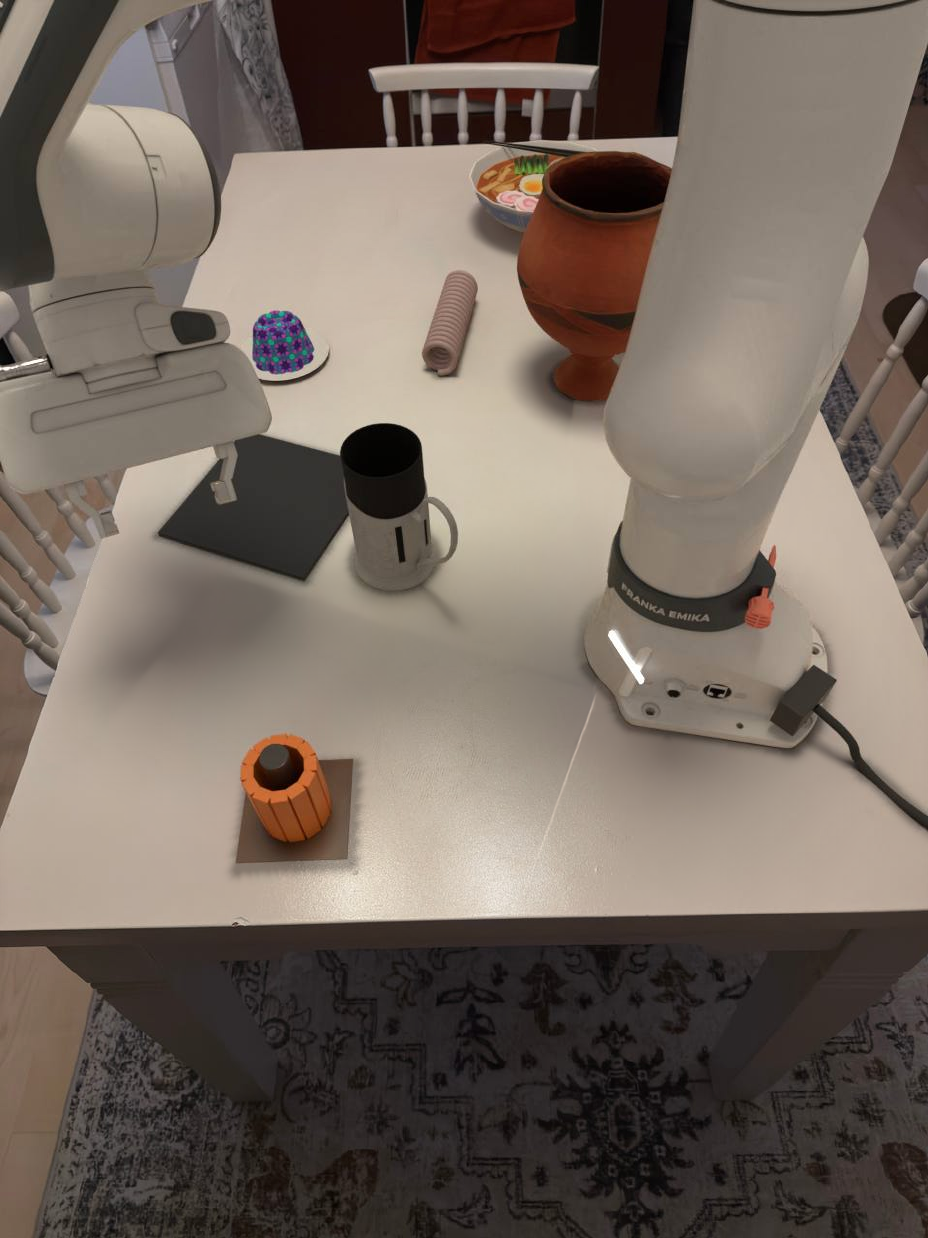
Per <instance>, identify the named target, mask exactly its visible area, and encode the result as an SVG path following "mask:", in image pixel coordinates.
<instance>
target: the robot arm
mask: <svg viewBox="0 0 928 1238" xmlns="http://www.w3.org/2000/svg"><path fill="white" fill-rule="evenodd" d="M213 1H214V0H0V290H2V291H7V290H11V289H16V288H22V287H28V293H29V305H30V306H29V307H30V310H31V313H32V316H33V319H34V321H35V324H36V327H37V329H38V333H39V335H40V338H41V341H42V343H43V346H44V348H45V351H46V355H41V356H37V357H33V358H28V359H24V360H21V361H18V362H14V363H11V364H5V365H1V364H0V464H1V467H2V471H3V474H4V477H5V480H6V482H7V484H8V486H9V488H10V489H12V490H14V491H15V492H17V493H19V494H21V495H25V496H26V495H27V496H28V495H30V494H35V493H38V492H42V491H47V490H49V489H54V488H57V487H61V486H64V489H65V491H66V494H67V497H68V499H69V501H70V502H71V503H72V504H73V505H75V506H76V507H77V508H79V509H80V510H81V511H82V512H83V513H84V514H86V516H88V517H89V518H92V520H93V523H94V525H95V528H96V530H97V533H98V536H99V539H100V540H102V539H106V538H109V537H112V536H113V537H114V536H116V535H119V534H120V531H119V527H118V525H117V524H116V523H115V521H116V520H115V517H114V514H113V511H112V510H107V511H105V512H100V511H99V510H98V509H96V508H95V507H94V506H93V505H91V504H90V503H89V502H88V501H87V500H86V499H84V498H83V497H84V496H87V495H88V493H89V492H88V491H87V488H86V484H85V482H84V480H88V479H92V478H95V477H100V476H104V475H107V474H111V473H116V472H120V471H122V470H123V471H124V470H127V469H130V468H134V467H139V466H142V465H146V464H150V463H153V462H157V461H161V460H165V459H169V458H173V457H177V456H180V455H185V454H189V453H192V452H196V451H200V450H204V449H207V448H211V447H212V448H213V451H214V454H215V457H216V458H217V459H218V460H219V459H224V460H223V465H222V470H221V475H220V481H216V482H213V483H210V484H211V487H212V490H213V492H215V496H214V497H215V500H216V502H217V504H219V505H220V504H224V503H228V502H231V501H235V500H237V498H236V494H235V491H234V488H233V484H232V481H231V479H232V478H233V473H234V469H235V465H236V460H237V456H238V455H237V451H236V448H235V445H234V441H235V440H239V439H243V438H246V437H250V436H254V435H258V434H260V435H263V434H266V433H267V432H268V431H269V429H270V427H271V425H272V420H273V415H272V411H271V408H270V405H269V402H268V399H267V396H266V394H265V391H264V388H263V386H262V383H261V381H260V379H259V378H258V376H257V374H256V372H255V370H254V368H253V366H252V364H251V362H250V360H249V359H248V357H247V356H246V354H245V353H244V352H243V351H242V350H241V349H240V347H238V346H236V345H234V344H233V343H229V342H226V341H227V340H228V339H229V338H230V336H231V327H230V323H229V319H228V317H227V316H226V315H225V314H224V313H223V312H222V311H218V310H213V309H203V308H196V307H195V308H194V307H185V306H178V305H170V304H163V303H160V302H159V298H158V295H157V292H156V290H155V287H154V285H153V283H152V282H151V280H150V278H149V277H150V276H149V270H154V269H163V268H171V267H177V266H180V265H182V264H186V263H189V262H191V261H192V260H195V259H199V258H201V257H202V256H204V255H205V253H206V252H207V251H208V250H209V248H210V247H211V245H212V243H213V241H214V240H215V238H216V236H217V233H218V231H219V227H220V223H221V217H222V195H221V188H220V187H221V186H220V183H219V178H218V175H217V171H216V167H215V165H214V162H213V160H212V158H211V157H212V156H211V155H210V153H209V150H208V149H207V147H206V145H205V144H204V142H203V140H202V139H201V138H200V136H199V135H198V134H197V132H196V131H195V130H194V129H193V128H192V127H191V125H190V124H188V122H186V121H185V120H184V119H183V118H182V117H181V116H179V115H177V114H175V113H172V112H166V111H163V110H160V109H155V108H151V107H143V106H142V107H141V106H131V105H117V104H100V103H96V104H94V103H90V100H91V98H92V96H93V95H94V93H95V92H96V89H97V87H98V85H99V84H100V82H101V80H102V78H103V76H104V75H105V73H106V71H107V69H108V67H109V65H110V64H111V61H112V60H113V58H114V57H115V55H116V53H117V52H118V50H119V49H120V48H121V47H122V46H123V45H124V44H125V43H126V41H127V40H128V39H130V38H131V37H132V36H133V35H135V33H137V32H138V31H139V30H141V29H143V28H144V27H145V26H147V25H148V24H150V23H152V22H154V21H156V20H158V19H160V18H162V17H164V16H167V15H170V14H172V13H174V12H177V11H179V10H183V9H186V8H190V7H192V6H197V5H201V4H204V3H208V2H213ZM691 12H692V13H691V21H690V29H689V37H688V47H687V55H686V63H685V71H684V80H683V81H684V82H683V89H682V98H681V108H680V117H679V125H678V133H677V139H676V147H675V150H674V151H675V152H674V157H673V161H672V166H671V168H672V171H671V176H670V181H669V185H668V189H667V193H666V196H665V200H664V204H663V208H662V212H661V215H660V219H659V222H658V226H657V229H656V233H655V237H654V240H653V244H652V248H651V251H650V255H649V259H648V263H647V267H646V271H645V275H644V279H643V283H642V287H641V292H640V296H639V300H638V304H637V309H636V313H635V317H634V321H633V325H632V329H631V332H630V336H629V340H628V344H627V347H626V351H625V352H624V354H623V357H622V360H621V363H620V365H619V370H618V373H617V376H616V378H615V381H614V383H613V386H612V389H611V391H610V394H609V397H608V399H606V402H605V405H604V410H603V415H602V416H603V417H602V423H603V425H602V426H603V432H604V437H605V440H606V444H607V447H608V449H609V451H610V453H611V455H612V456H613V458H614V460H615V461H616V463H617V464H618V466H619V467H620V468H621V470H622V471H623V472H624V473H625V474H626V475H627V476H628V477H629V478H630V479H629V485H628V491H627V495H626V501H625V507H624V512H623V518H622V520H621V521H620V523H619V526H618V527H617V531H616V533H615V534H614V536H613V538H612V542H611V546H610V551H609V556H608V563H607V568H606V573H607V580H606V588H605V590H604V593H603V595H602V598H601V599H600V601H599V603H598V605H597V606H596V608H595V609H594V610H593V611H592V613H591V614H590V616H589V618H588V620H587V622H586V625H585V628H584V634H583V645H584V652H585V656H586V659H587V661H588V664H589V665H590V668H591V669H592V670H593V672H594V673H595V675H596V676H597V678H598V679H599V680H600V681H601V682H602V683H603V685H605V686H606V687H607V688H608V690H609V691H610V692H611V693H612V695H613V697H614V698H615V701H616V703H617V706H618V709H619V711H620V714H621V716H622V718H623V719H624V720H625V721H626V722H627V723H628V724H630V725H632V726H636V727H642V728H649V729H656V730H662V731H669V732H675V733H681V734H689V735H695V736H700V737H708V738H715V739H721V740H727V741H728V740H729V741H736V742H741V743H748V744H753V745H760V746H766V747H773V748H774V747H775V748H782V749H792V748H794V747H796V746H797V745H799V744H800V743H801V742H802V741H804V740H805V738H807V736H808V735H809V734H810V732H811V731H812V729H813V728H814V726H815V724H816V722H817V720H818V718H820V719H821V720H822V721H823V722H825V723H826V724H827V725H828V726H829V727H830V728H831V729H832V730H833V731H835V732H836V733H837V734H838V735H839V736H840V738H841V739H842V740H843V741H844V742H845V743H846V745H847V747H848V751H849V755H850V758H851V760H852V762H853V763H854V764H855V766H856V767H857V768H858V769H859V770H860V771H861V773H862V774H863V775H864V776H865V777H866V779H868V781H870V782H871V783H872V784H873V785H875V787H877V788H878V790H880V791H881V792H882V793H883V794H884V795H885V796H887V798H888V799H889V800H891V801H892V802H893V803H894V804H895V805H896V806H898V807H899V808H900V809H901V810H903V811H904V812H906V813H907V814H908V815H909V816H911V817H912V818H913V819H915V820H916V821H918V822H919V823H921V824H922V825H924V826H925V827H926V828H928V815H927V814H926V813H924V812H923V811H921V810H920V809H919V808H917V807H916V806H914V805H913V804H912V803H910V802H909V801H908V800H906V799H905V798H904V797H902V795H900V794H898V792H896V791H895V790H894V789H893V788H892V787H890V786H889V785H888V784H887V783H886V782H885V781H884V780H883V779H882V778H881V777H880V776H879V775H878V774H877V773H876V772H875V771H874V770H873V768H871V767H870V766H869V764H868V763H867V762H866V760H865V759H864V758H863V756H862V754H861V750H860V746H859V743H858V742H857V740H856V739H855V737H854V736H853V735H852V733H851V731H849V730H848V728H846V727H845V726H844V725H843V723H841V722H840V721H839V720H838V719H837V718H836V717H834V715H832V714H831V712H829V711H827V710H826V709H825V708H824V707H823V703H824V702H825V701H826V699H827V697H828V696H829V694H830V693H831V691H832V689H833V688H834V687H835V684H836V683H837V679H836V678H835V677H833V676H832V675H830V674H829V673H828V671H829V670H828V656H827V652H826V648H825V645H824V642H823V640H822V638H821V635H820V634H819V632H818V630H816V628H815V627H814V626H813V625H812V624H813V623H812V618H811V614H810V611H809V610H808V608H807V606H806V605H805V603H804V602H803V601H802V600H801V599H800V598H798V597H797V596H796V595H794V594H792V593H791V592H790V591H789V590H787V589H786V588H785V587H784V586H783V585H781V584H780V583H779V582H778V581H776V578H777V571H776V569H775V565H776V560H777V546H776V545H775V544H773V545H772V548H771V552H770V553H769V556H768V559H767V557H766V556H765V555H764V554H763V552H762V551H761V547H762V545H763V543H764V539H765V537H766V534H767V532H768V529H769V527H770V524H771V522H772V519H773V516H774V514H775V511H776V509H777V506H778V505H779V502H780V499H781V497H782V494H783V492H784V490H785V488H786V485H787V484H788V482H789V479H790V477H791V474H792V472H793V470H794V468H795V466H796V463H797V461H798V459H799V457H800V454H801V452H802V450H803V448H804V446H805V444H806V441H807V439H808V436H809V435H810V432H811V430H812V427H813V425H814V423H815V421H816V418H817V416H818V414H819V411H820V409H821V407H822V405H823V402H824V400H825V398H826V396H827V394H828V391H829V389H830V387H831V384H832V382H833V379H834V377H835V375H836V373H837V370H838V369H839V366H840V364H841V361H842V359H843V356H844V354H845V351H846V350H847V348H848V345H849V343H850V340H851V338H852V335H853V333H854V330H855V329H856V327H857V323H858V321H859V318H860V315H861V311H862V307H863V303H864V300H865V296H866V295H865V294H866V291H867V284H868V279H869V278H868V275H869V269H870V266H869V265H870V259H869V251H868V247H867V244H866V240H865V238H864V235H865V231H866V230H867V226H868V224H869V223H870V219H871V217H872V216H871V215H872V214H873V211H874V208H875V206H876V204H877V201H878V198H879V196H880V194H881V191H882V189H883V187H884V184H885V182H886V180H887V178H888V175H889V172H890V169H891V166H892V164H893V161H894V157H895V154H896V152H897V151H896V150H897V147H898V144H899V141H900V137H901V134H902V131H903V127H904V124H905V120H906V117H907V114H908V110H909V107H910V105H911V100H912V97H913V94H914V90H915V87H916V84H917V80H918V77H919V73H920V71H921V67H922V63H923V59H924V57H925V54H926V50H927V47H928V0H693V4H692V11H691ZM647 712H650V713H652V714H653V715H651V714H648V713H647Z"/></svg>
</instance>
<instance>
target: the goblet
mask: <svg viewBox="0 0 928 1238" xmlns="http://www.w3.org/2000/svg"><path fill="white" fill-rule="evenodd" d="M671 171H672V167H671V166H669V165H666V164H664V163H661V162H659V161H657V160H655V159H653V158H651V157H649V156H646V155H644V154H642V153H639V152H636V151H618V150H603V151H602V150H601V151H600V150H599V151H593V152H583V153H579V154H576V155H572V156H569V157H565V158H563V159H561V160H559V161H557V162H555V163H553V164H552V165H551V166H549V167H548V168H547V169H546V171H545V173H544V176H543V178H542V187H543V189H542V192H541V194H540V197H539V200H538V203H537V205H536V207H535V209H534V212H533V214H532V216H531V218H530V221H529V223H528V225H527V228H526V230H525V233H523V236H522V238H521V242H520V244H519V250H518V254H517V262H516V273H517V279H518V284H519V287H520V291H521V295H522V297H523V300H524V302H525V305H526V308H527V310H528V312H529V314H530V316H531V317H532V318H533V320H534V321H535V323H536V324H537V325H538V326H539V328H540V329H541V330H543V332H544V333H545V334H546V335H547V336H548V337H550V339H552V340H554V341H555V342H556V343H558V344H559V345H560V346H562V347H564V348H566V350H568V352H569V353H570V354H569V355H568V356H566V357H565V358H564V359H563V360H562V361H561V362H560V363H559V364H558V365H557V367H556V368H555V370H554V373H553V381H554V384H555V386H556V388H557V389H558V391H560V392H562V393H563V394H564V395H566V396H568V397H569V398H571V399H574V400H576V401H581V402H598V401H599V402H601V401H605V400H606V401H607V399H608V397H609V394H610V391H611V389H612V386H613V383H614V381H615V378H616V376H617V373H618V370H619V368H620V366H618V364H617V363H616V362H615V360H614V357H615V356H617V355H620V354H623V353H624V354H625V351H626V347H627V344H628V340H629V336H630V332H631V329H632V325H633V321H634V317H635V313H636V309H637V304H638V300H639V296H640V292H641V287H642V283H643V279H644V275H645V271H646V267H647V263H648V259H649V255H650V251H651V248H652V244H653V240H654V237H655V233H656V229H657V226H658V222H659V219H660V215H661V212H662V208H663V204H664V200H665V196H666V193H667V189H668V185H669V181H670V176H671Z"/></svg>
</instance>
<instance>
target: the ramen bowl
mask: <svg viewBox="0 0 928 1238" xmlns="http://www.w3.org/2000/svg"><path fill="white" fill-rule="evenodd" d="M481 143H482V144H486V145H491V146H497V147H498V148H495V149H492V150H490V151H488V152H487V153H485V154H484V155H483V156H481V157H480V158H478V159H477V160H475V161H474V162H473V164H472V167H471V169H470V171H469V174H468V179H469V181H470V184H471V186H472V188H473V191H474V193H475V195H476V197H477V199H478V201H479V203H480V204H481V206H482V207H483V208H484V210H485V211H486V212H487V213H488V214H489V215H490V216H491V217H492V218H493V219H495V220H496V221H498V222H499V223H500V224H502V225H503V226H505V227H507V228H508V229H510V230H514V231H517V232H520V233H523V234H524V233H525V230H526V228H527V225H528V223H529V221H530V218H531V216H532V214H533V212H534V209H535V207H536V205H537V203H538V200H539V197H540V194H541V192H542V189H543V187H542V178H543V176H544V173H545V171H546V169H547V168H548V167H549V166H551V165H552V164H553V163H555V162H557V161H559V160H561V159H563V158H565V157H569V156H572V155H576V154H579V153H583V152H593V151H600V150H599V149H597V148H594V147H591V146H587V145H583V144H579V143H576V142H572V141H564V140H563V141H561V140H546V139H538V140H530V141H519V142H513V143H512V142H511V143H510V142H501V141H494V140H486V139H485V140H484V139H483V141H482V142H481Z"/></svg>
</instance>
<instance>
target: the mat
mask: <svg viewBox="0 0 928 1238" xmlns="http://www.w3.org/2000/svg"><path fill="white" fill-rule="evenodd" d="M234 445H235V448H236V451H237V455H238V456H237V460H236V465H235V469H234V473H233V478H232V479H231V481H232V484H233V488H234V491H235V494H236V498H237V500H235V501H231V502H228V503H224V504H220V505H219V504H217V502H216V500H215V497H214V496H215V492H213V490H212V487H211V484H210V483H213V482H216V481H220V475H221V470H222V465H223V460H224V459H219V458H218V460H217V461H216V462H215V464H214V465H213V466H212V467H211V468H210V470H209V471H208V472H207V473H206V475H205V476H204V477H203V478H202V479H201V481H199V483H198V484H197V485H196V486H195V488H194V489H193V490H192V491H191V492H190V493H189V495H188V496H186V498H185V500H184V501H182V503H181V504H180V505H179V506H178V508H177V509H175V511H174V513H172V515H171V516H170V517H169V518H168V519H167V521H166V522H165V523H164V524H163V525H162V527H161V528H160V529H159V531H158V532H157V534H158V536H160V537H162V538H166V539H169V540H173V541H175V542H178V543H182V544H184V545H188V546H191V547H194V548H198V549H201V550H204V551H207V552H210V553H213V554H214V553H215V554H217V555H220V556H224V557H227V558H230V559H233V560H236V561H240V562H243V563H246V564H249V565H252V566H256V567H259V568H262V569H265V570H269V571H272V572H275V573H278V574H282V575H285V576H288V577H291V578H294V579H297V580H301V581H303V582H305V581H306V579H307V578H308V576H309V575H310V573H311V572H312V570H313V569H314V567H315V566H316V564H317V563H318V561H319V560H320V558H321V557H322V555H323V554H324V552H325V551H326V549H327V548H328V546H329V545H330V543H331V542H332V540H333V539H334V537H335V536H336V534H337V533H338V531H339V530H340V528H341V527H342V525H343V524H344V523H345V521H346V519H347V518H348V517H349V511H348V506H347V500H346V495H345V488H344V474H343V469H342V463H341V458H340V454H335V453H332V452H328V451H325V450H324V451H323V450H320V449H316V448H313V447H309V446H305V445H301V444H298V443H295V442H294V443H293V442H291V441H286V440H283V439H280V438H275V437H272V436H268V435H264V434H258V435H254V436H250V437H246V438H243V439H239V440H235V441H234Z"/></svg>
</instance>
